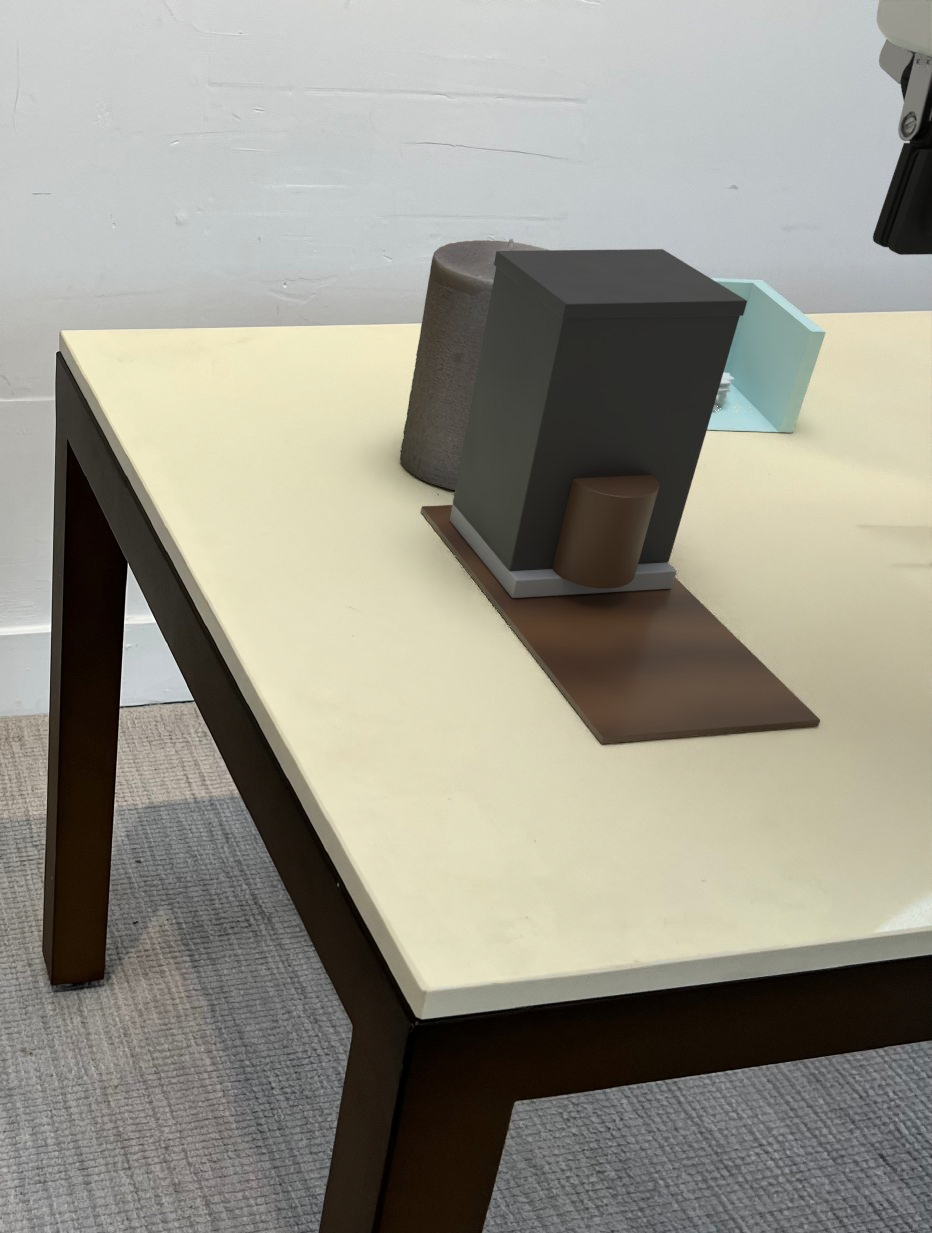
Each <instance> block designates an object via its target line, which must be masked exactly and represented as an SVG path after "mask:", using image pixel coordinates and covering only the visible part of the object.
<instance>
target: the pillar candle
mask: <svg viewBox="0 0 932 1233" xmlns="http://www.w3.org/2000/svg"><path fill="white" fill-rule="evenodd" d="M532 250H549V249H547V248H545V247H541V246H536V245H531V244H527V243H522V242H515V241H514V238H509V240H508V241H506V240H505V241H504V240H488V239H486V240H485V239H484V240H483V239H482V240H481V239H480V240H464V241H457V242H450V243H447V244H444V245H441V246H440V247H438V248H437V249H436V250H434V252H433V255H432V258H431V263H430V267H429V268H430V269H429V276H428V281H427V288H426V293H425V301H424V307H423V313H422V321H421V326H420V332H419V338H418V345H417V350H416V355H415V356H416V358H415V363H414V364H415V365H414V370H413V375H412V380H411V381H412V382H411V386H410V388H411V389H410V391H409V398H408V399H409V400H408V405H407V413H406V420H405V422H404V428H403V432H402V433H403V434H402V435H403V437H402V442H401V446H400V448H401V449H400V450H399V452H400V457H399V460H400V462H401V464H402V466H403V467H404V468H405V469H406V470H407V471H408V472H409V473H411V475H413V476H415V477H418V479H420V480H421V481H424V482H426V483H429V484H431V485H434V486H438V487H441V488H445V489H448V490H452V491H455V489H456V483H457V478H458V472H459V467H460V461H461V456H462V450H463V445H464V440H465V434H466V429H467V423H468V418H469V412H470V407H471V401H472V396H473V390H474V385H475V379H476V374H477V369H478V363H479V358H480V352H481V347H482V341H483V336H484V330H485V325H486V319H487V314H488V308H489V303H490V297H491V292H492V287H493V281H494V276H495V270H496V266H495V265H494V261H495V256H496V251H532Z"/></svg>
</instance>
